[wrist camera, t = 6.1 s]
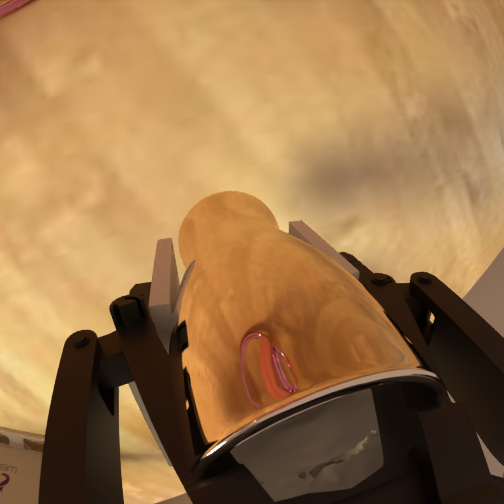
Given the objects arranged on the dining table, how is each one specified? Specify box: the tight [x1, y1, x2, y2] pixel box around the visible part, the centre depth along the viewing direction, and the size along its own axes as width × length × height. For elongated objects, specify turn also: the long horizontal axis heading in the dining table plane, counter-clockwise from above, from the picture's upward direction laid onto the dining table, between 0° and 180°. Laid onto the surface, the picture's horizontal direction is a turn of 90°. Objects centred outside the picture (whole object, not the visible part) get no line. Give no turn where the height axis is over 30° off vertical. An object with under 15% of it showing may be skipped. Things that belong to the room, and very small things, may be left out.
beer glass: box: [169, 191, 447, 502], centre depth 13 cm, size 7×7×15 cm
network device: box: [0, 427, 45, 504], centre depth 23 cm, size 26×9×20 cm, turn 87°
